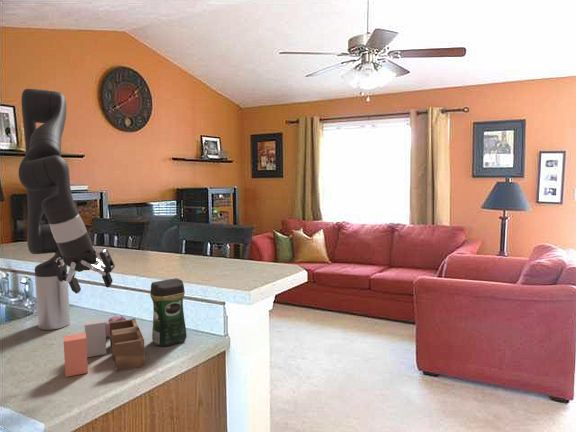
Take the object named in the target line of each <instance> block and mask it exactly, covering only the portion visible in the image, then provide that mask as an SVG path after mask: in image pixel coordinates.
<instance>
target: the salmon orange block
mask: <svg viewBox="0 0 576 432" xmlns="http://www.w3.org/2000/svg"><path fill="white" fill-rule="evenodd" d="M63 352H64V353H63V354H64V357H63V358H64V371H65V372H64V373H65V374H64V375H65V377H66V378H67V377H71V376H72V377H73V376H78V375H83V374H88V373H89V366H88V357H87V344H86V333H85V332H83V333H75V334H69V335H64V336H63Z"/></svg>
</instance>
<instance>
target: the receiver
mask: <svg viewBox="0 0 576 432" xmlns="http://www.w3.org/2000/svg"><path fill="white" fill-rule="evenodd" d="M109 325H110V337H109V341H110V345H109V346H110V347H111V350H112V351H111V352H112V357H113V361H115V370H116V372H120V371H126V370H131V369H134V368H141V367H145V366H146V351H145V350H146V348H145V338H144V336H143V334H142V332H141V329H140V327H139V325H138V323H137V320H136V318H130V319H129V318H128V319H126V320H122V321H115V322H109Z"/></svg>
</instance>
